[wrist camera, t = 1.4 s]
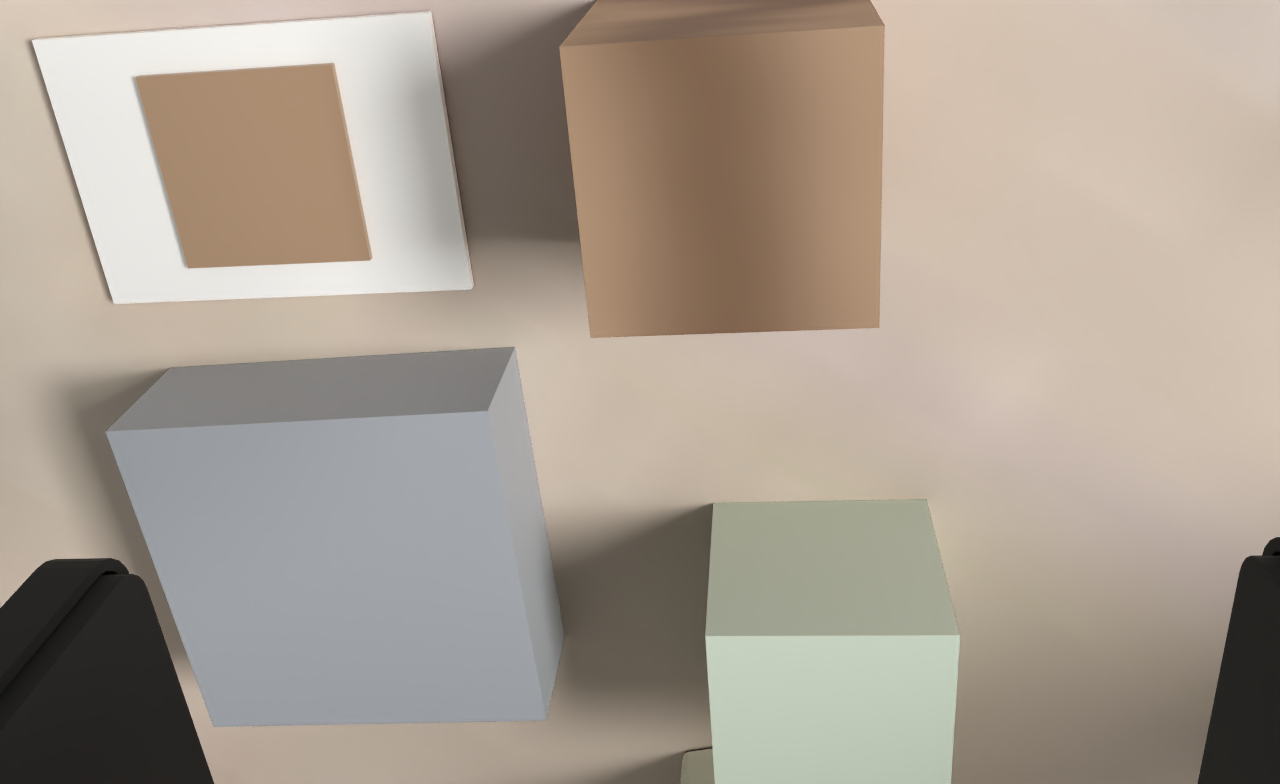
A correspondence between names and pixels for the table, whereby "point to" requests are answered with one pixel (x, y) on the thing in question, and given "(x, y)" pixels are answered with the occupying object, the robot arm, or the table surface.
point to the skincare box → (698, 767)
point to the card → (263, 158)
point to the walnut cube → (727, 164)
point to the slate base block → (349, 537)
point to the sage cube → (830, 644)
